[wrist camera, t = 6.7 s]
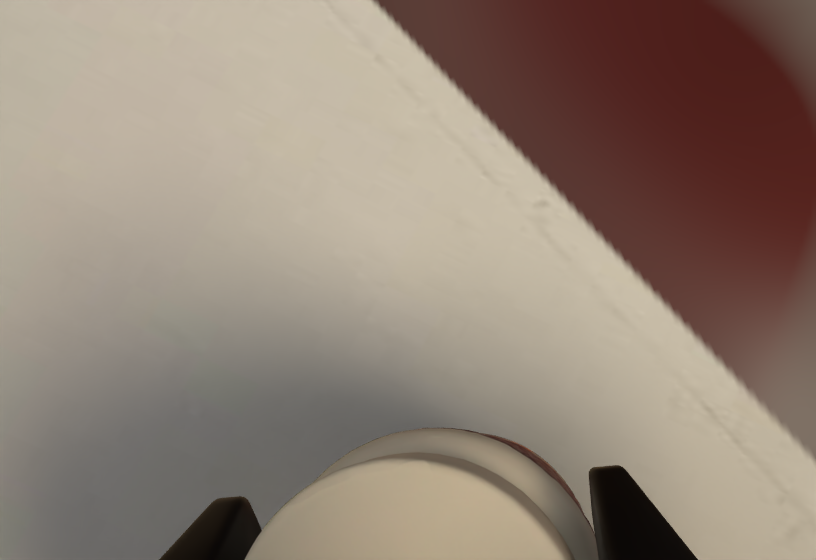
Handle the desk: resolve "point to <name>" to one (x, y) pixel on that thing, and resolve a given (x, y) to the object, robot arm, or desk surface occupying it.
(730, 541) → the desk surface
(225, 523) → the robot arm
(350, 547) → the pill bottle
